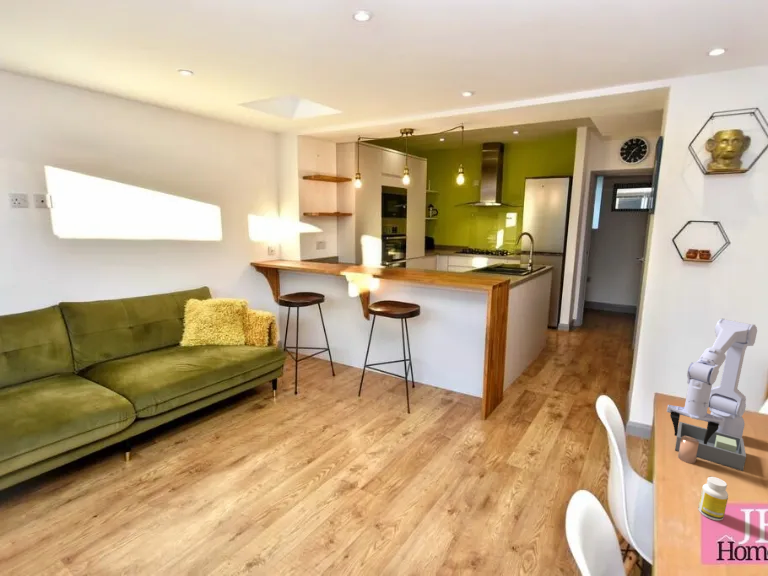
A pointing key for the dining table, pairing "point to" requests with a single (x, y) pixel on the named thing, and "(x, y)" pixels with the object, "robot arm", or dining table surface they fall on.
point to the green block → (725, 443)
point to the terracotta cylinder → (688, 449)
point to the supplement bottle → (713, 499)
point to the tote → (709, 450)
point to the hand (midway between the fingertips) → (690, 438)
